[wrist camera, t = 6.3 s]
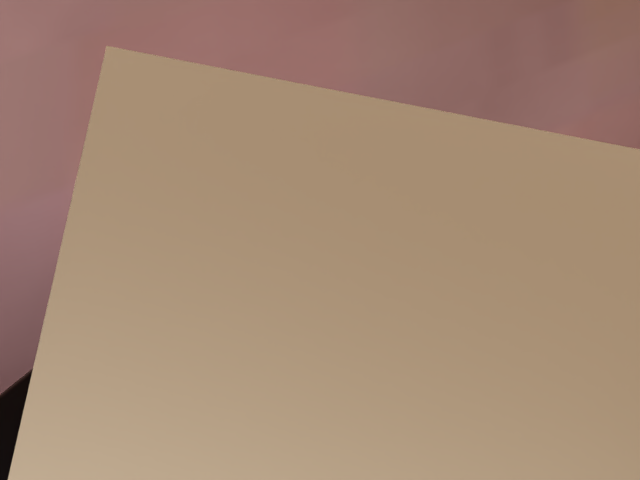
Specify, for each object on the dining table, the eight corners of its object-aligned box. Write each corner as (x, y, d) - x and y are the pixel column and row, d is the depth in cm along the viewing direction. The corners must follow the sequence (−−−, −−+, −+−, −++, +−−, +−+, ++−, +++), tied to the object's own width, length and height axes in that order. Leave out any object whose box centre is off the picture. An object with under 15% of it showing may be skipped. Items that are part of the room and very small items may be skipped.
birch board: (307, 481, 13) (639, 1350, 2) (189, 466, 12) (-190, 1358, 2) (334, 297, 13) (697, 158, 3) (223, 279, 13) (105, 46, 2)
